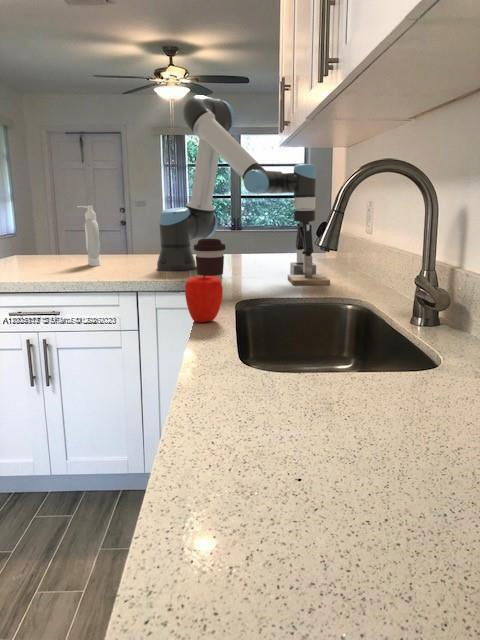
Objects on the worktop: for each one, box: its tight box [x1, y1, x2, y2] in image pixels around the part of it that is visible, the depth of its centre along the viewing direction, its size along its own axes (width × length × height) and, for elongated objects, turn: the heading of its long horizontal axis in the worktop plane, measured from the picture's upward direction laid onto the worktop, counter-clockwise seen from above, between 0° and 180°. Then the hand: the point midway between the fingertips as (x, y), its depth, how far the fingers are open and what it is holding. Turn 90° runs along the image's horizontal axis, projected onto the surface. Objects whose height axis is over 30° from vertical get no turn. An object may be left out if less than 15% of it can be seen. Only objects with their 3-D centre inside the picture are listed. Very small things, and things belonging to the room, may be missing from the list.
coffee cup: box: [193, 238, 226, 285], centre depth 159 cm, size 10×10×15 cm
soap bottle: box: [76, 205, 102, 267], centre depth 210 cm, size 13×8×24 cm, turn 22°
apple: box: [184, 276, 224, 324], centre depth 117 cm, size 9×9×11 cm
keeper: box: [287, 256, 331, 286], centre depth 168 cm, size 12×12×8 cm
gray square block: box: [289, 261, 317, 275], centre depth 183 cm, size 8×8×4 cm
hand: (303, 269), depth 183 cm, fingers open, 13 cm apart
